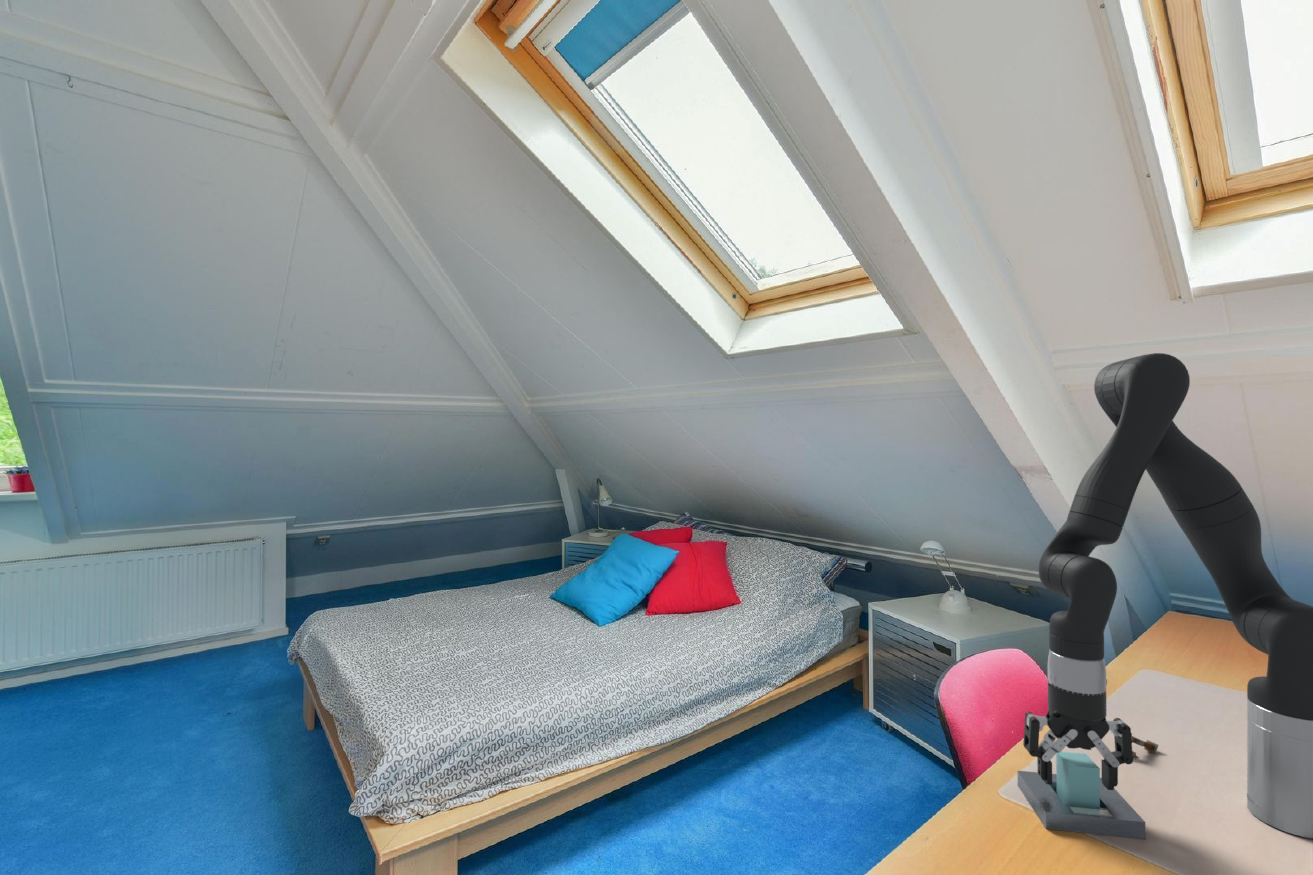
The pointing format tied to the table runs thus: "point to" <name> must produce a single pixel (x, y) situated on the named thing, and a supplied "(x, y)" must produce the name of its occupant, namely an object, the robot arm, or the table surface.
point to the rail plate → (1081, 810)
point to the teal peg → (1078, 780)
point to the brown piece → (1147, 745)
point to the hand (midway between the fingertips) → (1076, 784)
